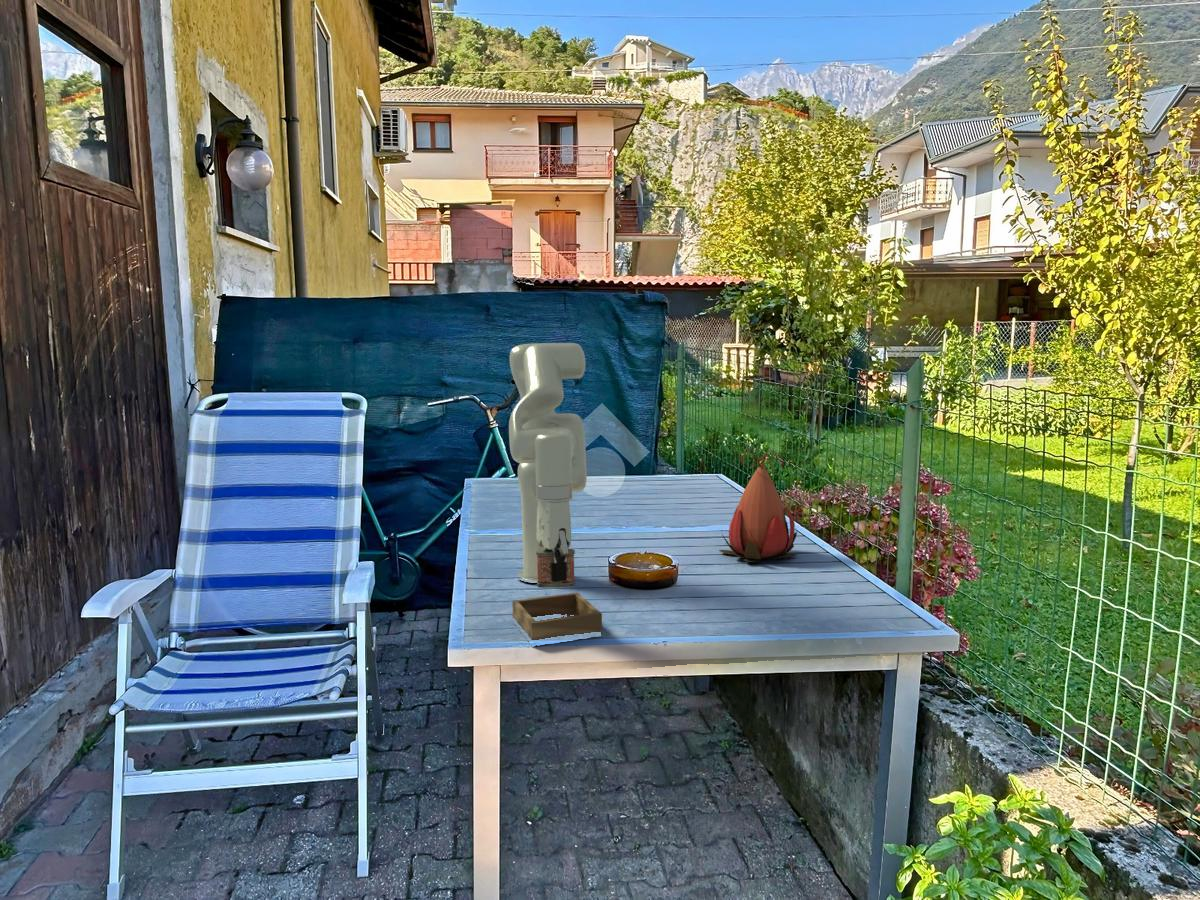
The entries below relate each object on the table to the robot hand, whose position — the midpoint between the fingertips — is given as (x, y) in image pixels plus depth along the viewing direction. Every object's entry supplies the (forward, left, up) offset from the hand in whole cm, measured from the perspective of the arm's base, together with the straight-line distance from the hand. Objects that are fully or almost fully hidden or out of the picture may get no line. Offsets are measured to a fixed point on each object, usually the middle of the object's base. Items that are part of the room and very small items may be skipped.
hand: (555, 576), depth 168 cm
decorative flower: (-33, +70, -12) cm, 78 cm away
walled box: (0, 0, -12) cm, 12 cm away
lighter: (0, 0, -2) cm, 2 cm away
